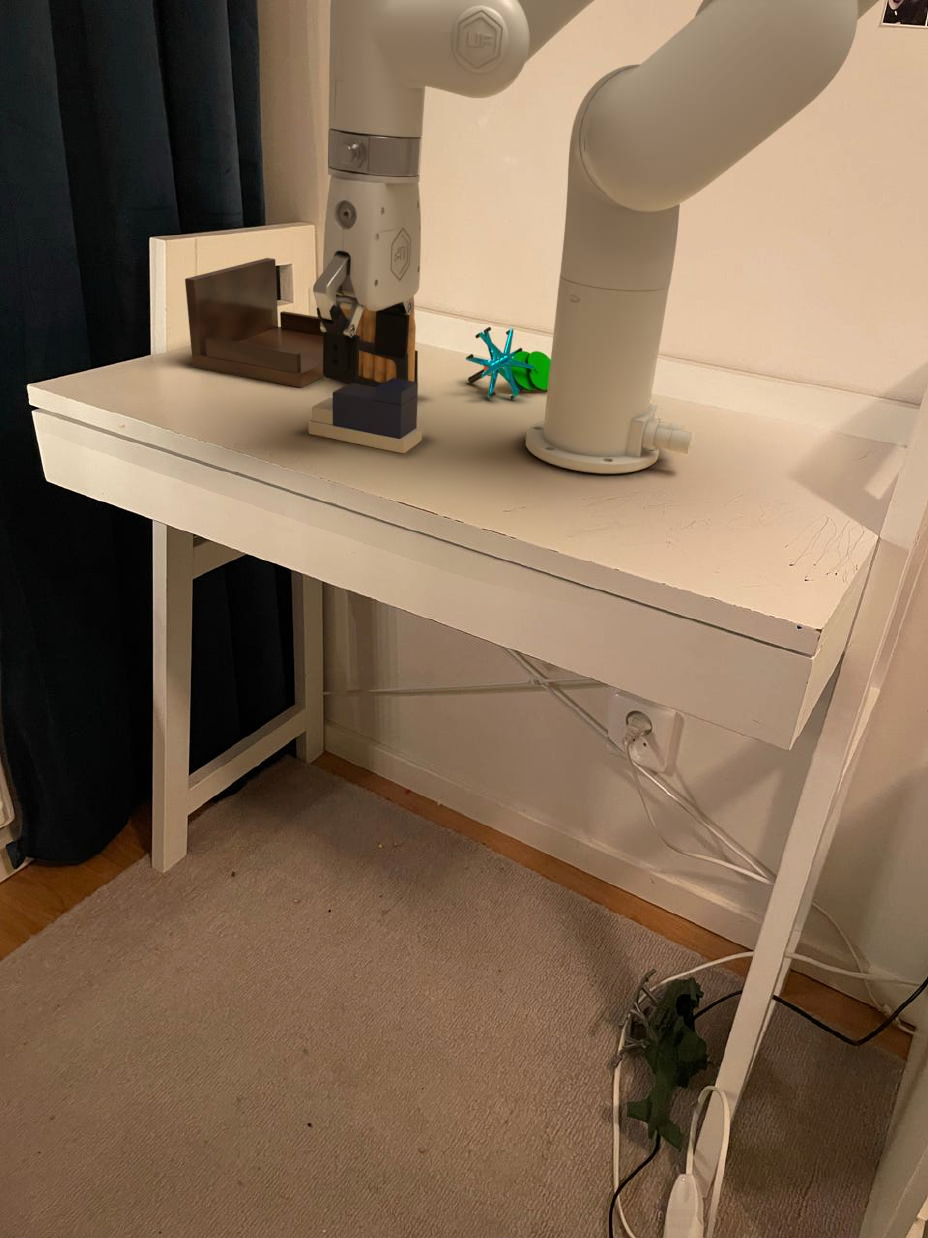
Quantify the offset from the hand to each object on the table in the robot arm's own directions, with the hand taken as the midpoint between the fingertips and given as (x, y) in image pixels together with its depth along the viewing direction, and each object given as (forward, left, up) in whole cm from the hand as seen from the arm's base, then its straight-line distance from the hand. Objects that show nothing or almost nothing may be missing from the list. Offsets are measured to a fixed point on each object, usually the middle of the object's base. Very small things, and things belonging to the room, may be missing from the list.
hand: (366, 366), depth 84 cm
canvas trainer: (0, 0, -7) cm, 7 cm away
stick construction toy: (-6, -22, -7) cm, 24 cm away
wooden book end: (+20, -18, -7) cm, 28 cm away
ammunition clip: (+6, -14, -7) cm, 17 cm away
